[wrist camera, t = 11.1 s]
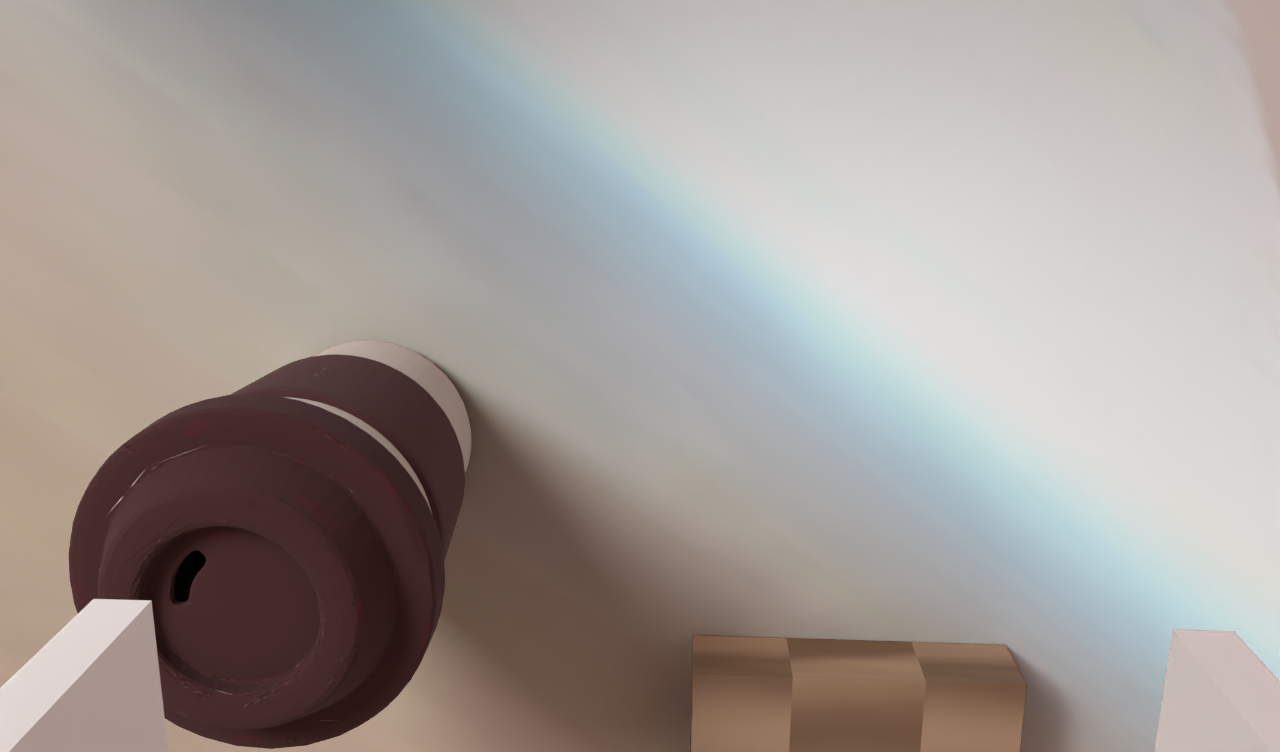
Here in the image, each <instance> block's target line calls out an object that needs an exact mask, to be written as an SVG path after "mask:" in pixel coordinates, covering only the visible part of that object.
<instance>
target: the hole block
mask: <svg viewBox="0 0 1280 752" xmlns="http://www.w3.org/2000/svg"><path fill="white" fill-rule="evenodd" d="M1026 689H1027V684H1026V682H1025V680H1024V679H1023V677H1022V675H1021V673H1020V671H1019V669H1018V667H1017V665H1016V663H1015V662H1014V660H1013V658H1012V656H1011V654H1010V652H1009V650H1008V648H1007V646H1006V645H992V644H960V643H928V642H895V641H863V640H831V639H799V638H767V637H734V636H702V635H693V670H692V707H691V744H690V752H1020V743H1021V734H1022V725H1023V716H1024V707H1025V698H1026Z"/></svg>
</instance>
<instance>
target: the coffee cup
mask: <svg viewBox="0 0 1280 752" xmlns="http://www.w3.org/2000/svg"><path fill="white" fill-rule="evenodd" d="M471 445H472V442H471V428H470V422H469V418H468V414H467V411H466V408H465V405H464V402H463V401H462V399H461V397H460V395H459V393H458V391H457V390H456V388H455V386H454V385H453V384H452V383H451V381H450V380H449V379H448V377H447V376H446V375H445V374H444V373H443V372H442V371H441V370H440V369H439V368H438V367H436V366H435V365H434V364H433V363H432V362H431V361H429V360H428V359H426V358H424V357H423V356H421V355H419V354H418V353H416V352H415V351H412V350H410V349H407V348H404V347H402V346H399V345H396V344H392V343H386V342H380V341H354V342H348V343H343V344H340V345H336V346H334V347H331V348H328V349H326V350H324V351H322V352H320V353H318V354H317V355H315V356H313V357H309V358H305V359H302V360H298V361H295V362H292V363H290V364H287V365H285V366H283V367H281V368H279V369H277V370H275V371H273V372H271V373H269V374H268V375H266V376H264V377H262V378H260V379H258V380H257V381H255V382H253V383H251V384H249V385H247V386H246V387H244V388H242V389H240V390H238V391H236V392H234V393H233V394H231V395H227V396H222V397H217V398H212V399H207V400H203V401H200V402H197V403H194V404H190V405H187V406H185V407H182V408H180V409H178V410H175V411H173V412H171V413H169V414H167V415H166V416H164V417H162V418H160V419H159V420H157V421H155V422H154V423H152V424H151V425H149V426H148V427H147V428H145V429H144V430H142V431H141V432H139V433H138V434H136V435H135V436H134V437H132V438H131V439H130V440H128V441H127V442H126V443H124V444H123V445H122V446H121V447H120V448H118V449H117V450H116V451H115V452H114V453H113V454H112V455H111V456H110V457H109V458H108V459H107V460H106V462H105V463H104V464H103V465H102V466H101V467H100V469H99V470H98V472H97V473H96V475H95V476H94V478H93V479H92V481H91V482H90V484H89V486H88V487H87V489H86V491H85V493H84V495H83V497H82V499H81V501H80V504H79V506H78V509H77V512H76V515H75V518H74V521H73V527H72V533H71V540H70V548H69V570H70V582H71V588H72V593H73V599H74V604H75V607H76V609H77V612H78V613H79V612H80V611H81V610H82V609H83V608H85V607H86V606H87V605H88V604H89V603H90V602H91V601H92V600H93V599H116V600H151V601H152V610H153V619H154V628H155V637H156V646H157V655H158V664H159V672H160V681H161V690H162V699H163V708H164V717H165V718H166V719H167V720H169V721H171V722H172V723H174V724H176V725H177V726H179V727H181V728H184V729H186V730H188V731H191V732H193V733H195V734H198V735H200V736H203V737H206V738H209V739H213V740H217V741H221V742H225V743H228V744H232V745H236V746H246V747H258V748H270V749H272V748H283V747H294V746H304V745H309V744H312V743H316V742H320V741H323V740H327V739H330V738H333V737H337V736H340V735H342V734H344V733H346V732H348V731H350V730H352V729H354V728H356V727H358V726H360V725H361V724H363V723H365V722H366V721H368V720H369V719H371V718H372V717H374V716H375V715H377V714H378V713H379V712H380V711H382V710H383V709H384V708H385V707H387V706H388V705H389V704H390V703H391V702H392V701H393V700H394V699H395V698H396V697H397V696H398V695H399V693H400V692H401V691H402V690H403V689H404V687H405V686H406V685H407V684H408V682H409V681H410V680H411V678H412V676H413V675H414V673H415V671H416V670H417V668H418V666H419V665H420V663H421V661H422V658H423V656H424V654H425V652H426V649H427V647H428V645H429V643H430V640H431V638H432V636H433V633H434V631H435V629H436V626H437V623H438V619H439V616H440V613H441V608H442V601H443V594H444V586H445V571H444V560H445V556H446V553H447V550H448V547H449V544H450V540H451V537H452V534H453V531H454V528H455V524H456V521H457V518H458V515H459V512H460V508H461V505H462V500H463V494H464V485H465V473H466V470H467V467H468V464H469V459H470V454H471Z"/></svg>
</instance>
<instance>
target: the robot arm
mask: <svg viewBox="0 0 1280 752" xmlns="http://www.w3.org/2000/svg"><path fill="white" fill-rule="evenodd" d="M0 752H168V744H167V735H166V726H165V717H164V708H163V699H162V690H161V681H160V672H159V664H158V655H157V646H156V637H155V628H154V619H153V610H152V601H151V600H116V599H93V600H92V601H91V602H90V603H89V604H88V605H87V606H86V607H85V608H83V609H82V610H81V611H80V612H79V613H78V614H77V615H76V616H75V617H74V618H73V619H72V620H71V621H70V622H69V623H68V624H67V625H66V626H65V627H64V628H63V629H61V630H60V631H59V632H58V633H57V634H56V635H55V636H54V637H53V638H52V639H51V640H50V641H49V642H48V643H47V644H46V645H45V646H44V647H43V648H42V649H41V650H39V651H38V652H37V653H36V654H35V655H34V656H33V657H32V658H31V659H30V660H29V661H28V662H27V663H26V664H25V665H24V666H23V667H22V668H21V669H20V670H18V671H17V672H16V673H15V674H14V675H13V676H12V677H11V678H10V679H9V680H8V681H7V682H6V683H5V684H4V685H3V686H2V687H1V688H0ZM1154 752H1280V681H1279V680H1278V678H1277V677H1276V676H1275V675H1274V674H1273V673H1272V672H1271V671H1270V670H1269V669H1268V668H1267V666H1266V665H1265V664H1264V663H1263V662H1262V661H1261V660H1260V659H1259V658H1258V657H1257V656H1256V655H1255V653H1254V652H1253V651H1252V650H1251V649H1250V648H1249V647H1248V646H1247V645H1246V644H1245V643H1244V641H1243V640H1242V639H1241V638H1240V637H1239V636H1238V635H1237V634H1236V633H1235V632H1234V631H1209V630H1173V631H1172V638H1171V645H1170V651H1169V658H1168V664H1167V671H1166V678H1165V684H1164V691H1163V698H1162V704H1161V711H1160V718H1159V724H1158V731H1157V738H1156V744H1155V751H1154Z"/></svg>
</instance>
